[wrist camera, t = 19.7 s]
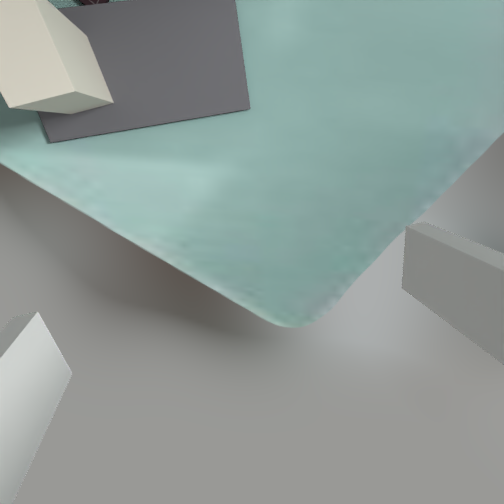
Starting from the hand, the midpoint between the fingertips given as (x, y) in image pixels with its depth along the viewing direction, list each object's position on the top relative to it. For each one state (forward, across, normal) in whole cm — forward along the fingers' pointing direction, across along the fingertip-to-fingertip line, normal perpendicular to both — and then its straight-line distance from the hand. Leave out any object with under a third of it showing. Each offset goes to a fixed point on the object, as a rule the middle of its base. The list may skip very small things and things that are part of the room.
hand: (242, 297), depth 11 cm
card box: (+28, -10, +12) cm, 32 cm away
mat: (+29, -4, +12) cm, 31 cm away
